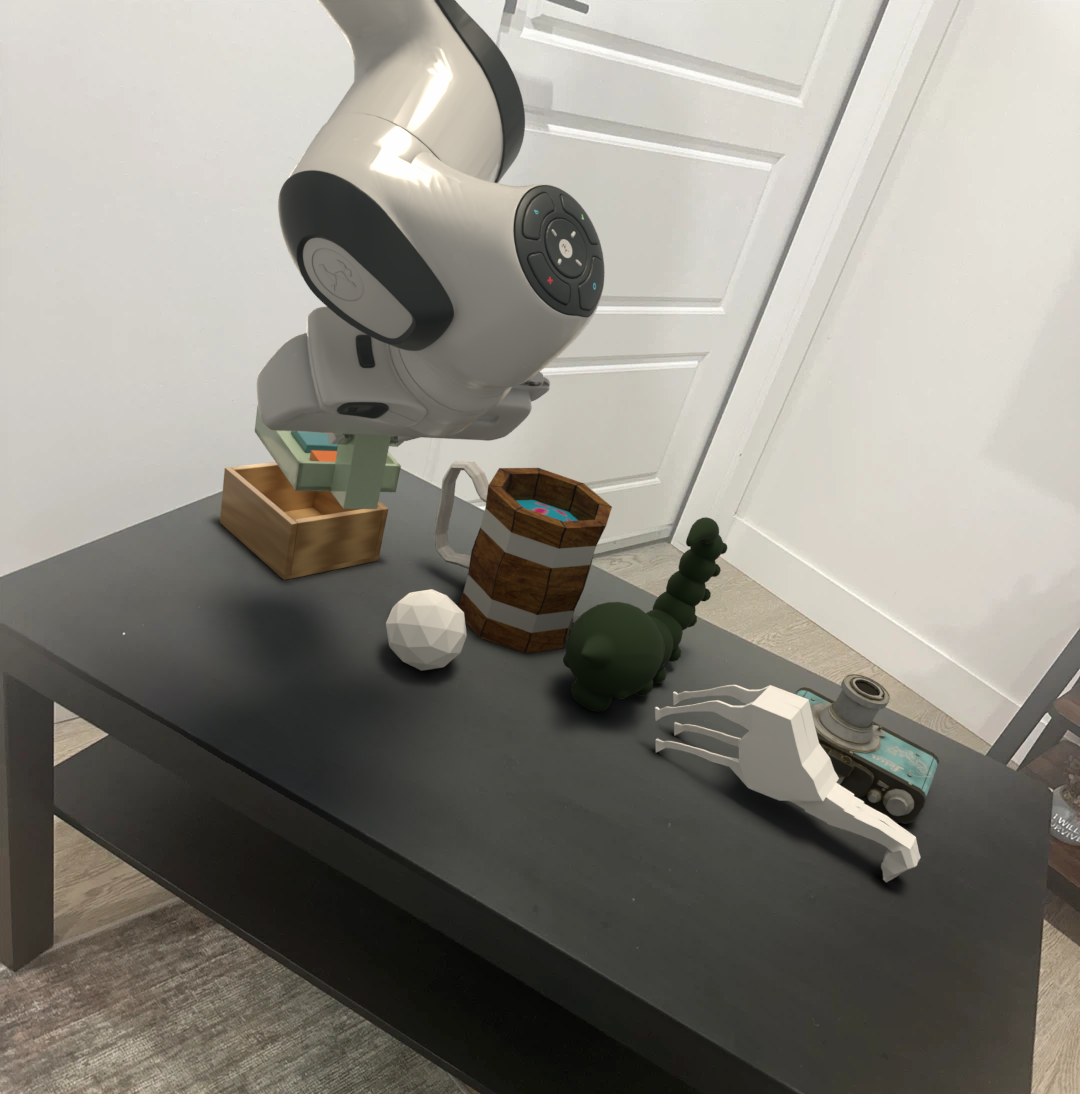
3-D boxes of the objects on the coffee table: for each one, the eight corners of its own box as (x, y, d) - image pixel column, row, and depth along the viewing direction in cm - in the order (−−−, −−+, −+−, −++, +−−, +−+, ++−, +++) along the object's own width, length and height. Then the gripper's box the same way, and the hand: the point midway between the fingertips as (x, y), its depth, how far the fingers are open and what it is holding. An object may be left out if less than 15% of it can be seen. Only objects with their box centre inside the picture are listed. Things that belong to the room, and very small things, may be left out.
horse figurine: (655, 834, 100) (909, 900, 87) (653, 686, 93) (928, 734, 80) (676, 812, 103) (922, 872, 91) (675, 668, 96) (942, 712, 84)
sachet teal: (340, 454, 87) (341, 446, 86) (305, 453, 85) (306, 444, 84) (324, 434, 89) (325, 426, 89) (290, 432, 87) (291, 424, 87)
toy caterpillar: (626, 640, 115) (515, 702, 95) (689, 492, 105) (580, 526, 85) (694, 680, 112) (594, 753, 92) (766, 531, 103) (671, 576, 82)
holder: (283, 580, 102) (291, 524, 98) (219, 522, 108) (224, 467, 104) (378, 560, 110) (388, 508, 107) (314, 508, 116) (321, 456, 112)
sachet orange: (361, 481, 83) (362, 472, 83) (325, 480, 82) (327, 471, 81) (344, 459, 86) (345, 451, 85) (309, 458, 84) (310, 449, 84)
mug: (593, 628, 112) (636, 511, 103) (531, 669, 101) (572, 542, 93) (459, 550, 118) (489, 433, 109) (387, 581, 107) (414, 454, 99)
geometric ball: (403, 670, 100) (413, 593, 100) (474, 678, 97) (484, 598, 97) (365, 662, 93) (376, 579, 93) (441, 670, 90) (452, 584, 90)
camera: (970, 718, 99) (955, 762, 91) (923, 788, 104) (905, 835, 96) (821, 643, 103) (795, 679, 95) (784, 713, 108) (756, 752, 101)
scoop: (409, 509, 83) (434, 396, 77) (307, 508, 78) (325, 387, 72) (349, 436, 91) (367, 329, 86) (254, 431, 87) (266, 317, 81)
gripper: (555, 335, 73) (467, 405, 84) (288, 303, 62) (230, 389, 73) (568, 418, 73) (478, 477, 84) (303, 401, 62) (242, 471, 73)
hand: (361, 436), depth 79 cm, fingers closed on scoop, 3 cm apart
